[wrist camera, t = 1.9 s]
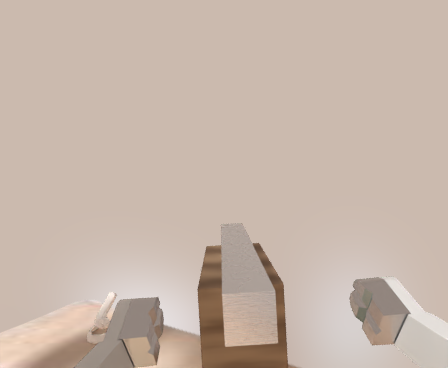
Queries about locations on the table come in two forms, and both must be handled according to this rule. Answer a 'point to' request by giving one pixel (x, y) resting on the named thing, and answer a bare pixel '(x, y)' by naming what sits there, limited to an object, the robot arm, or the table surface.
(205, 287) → the stand
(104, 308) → the hook
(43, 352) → the table surface
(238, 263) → the rail
